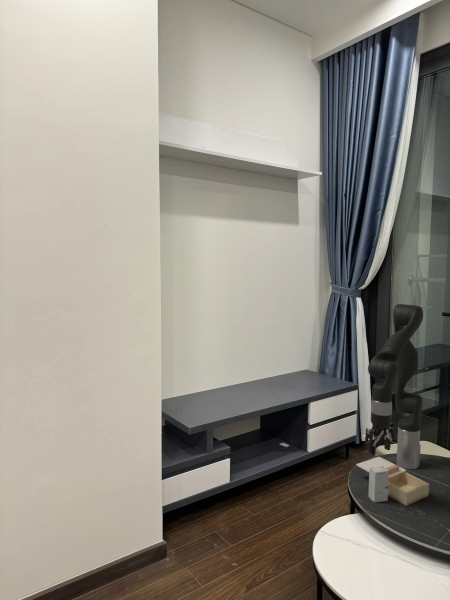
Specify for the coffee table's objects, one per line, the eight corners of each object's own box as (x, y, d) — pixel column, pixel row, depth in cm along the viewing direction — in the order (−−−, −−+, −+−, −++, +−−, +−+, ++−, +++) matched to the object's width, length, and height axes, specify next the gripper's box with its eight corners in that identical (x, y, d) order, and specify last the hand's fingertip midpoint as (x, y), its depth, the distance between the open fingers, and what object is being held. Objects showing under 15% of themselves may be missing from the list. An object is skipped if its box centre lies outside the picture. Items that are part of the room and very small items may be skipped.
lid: (378, 457, 188) (378, 452, 188) (406, 471, 176) (406, 465, 176) (356, 465, 181) (356, 459, 181) (383, 480, 169) (383, 474, 169)
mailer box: (399, 480, 179) (399, 469, 179) (428, 495, 167) (429, 483, 167) (377, 489, 172) (377, 477, 172) (406, 506, 161) (406, 493, 160)
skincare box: (374, 503, 163) (375, 472, 161) (367, 496, 167) (368, 467, 166) (388, 500, 164) (389, 471, 163) (381, 494, 168) (382, 465, 167)
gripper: (376, 417, 155) (375, 460, 157) (401, 411, 162) (400, 451, 164) (360, 411, 162) (359, 452, 163) (385, 405, 169) (384, 444, 170)
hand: (379, 451), depth 164 cm, fingers open, 8 cm apart
